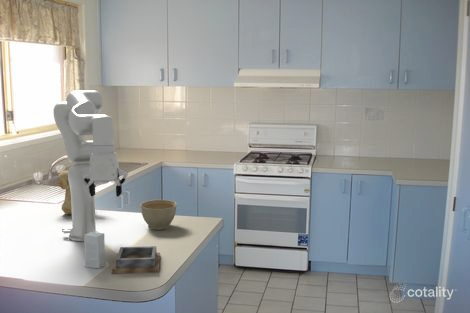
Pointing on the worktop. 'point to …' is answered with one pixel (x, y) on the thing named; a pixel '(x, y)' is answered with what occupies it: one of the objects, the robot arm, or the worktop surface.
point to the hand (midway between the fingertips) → (105, 195)
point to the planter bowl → (158, 213)
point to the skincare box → (94, 249)
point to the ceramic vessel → (65, 185)
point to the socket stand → (136, 260)
